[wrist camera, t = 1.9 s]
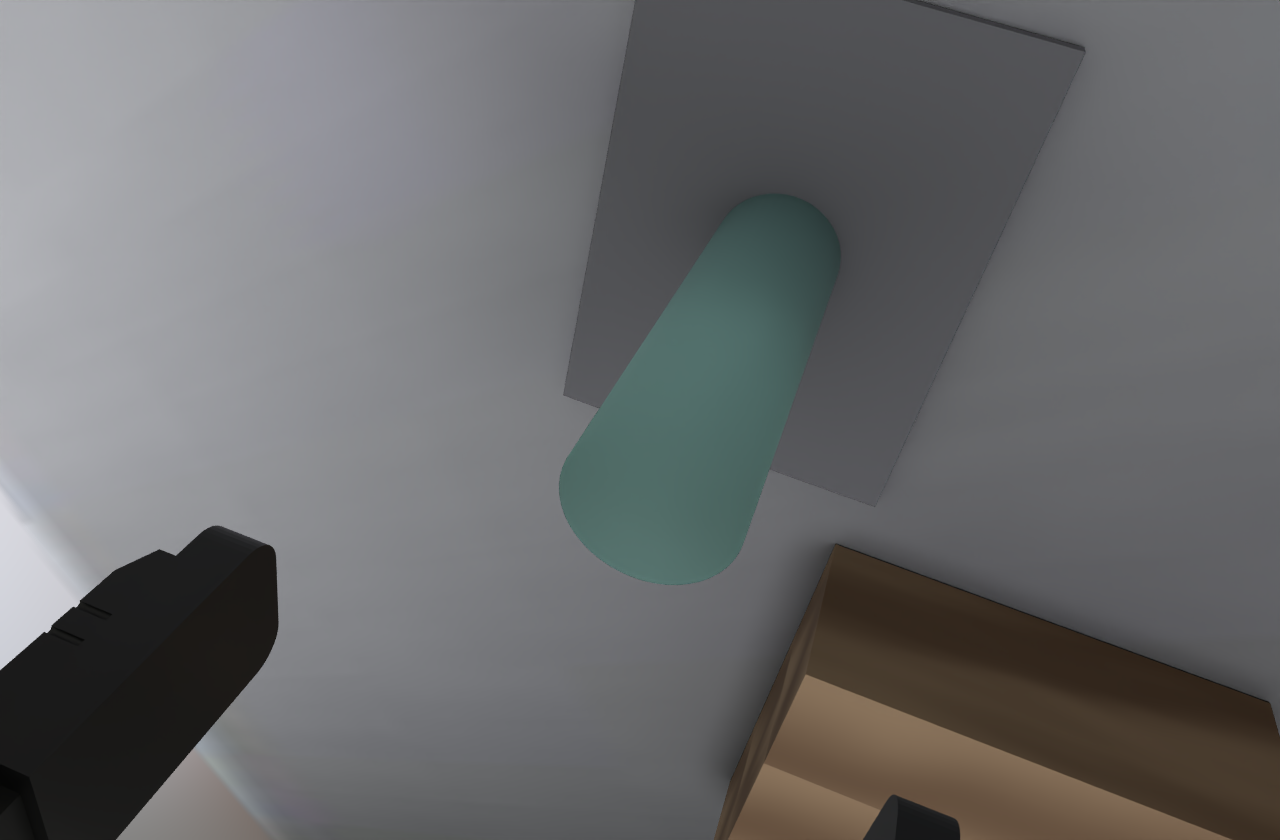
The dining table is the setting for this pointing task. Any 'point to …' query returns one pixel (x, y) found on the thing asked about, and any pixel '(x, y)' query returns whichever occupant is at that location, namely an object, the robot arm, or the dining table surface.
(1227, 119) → the dining table surface
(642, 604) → the dining table surface
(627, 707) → the dining table surface
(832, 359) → the mat
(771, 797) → the hole block
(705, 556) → the peg
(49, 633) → the robot arm
